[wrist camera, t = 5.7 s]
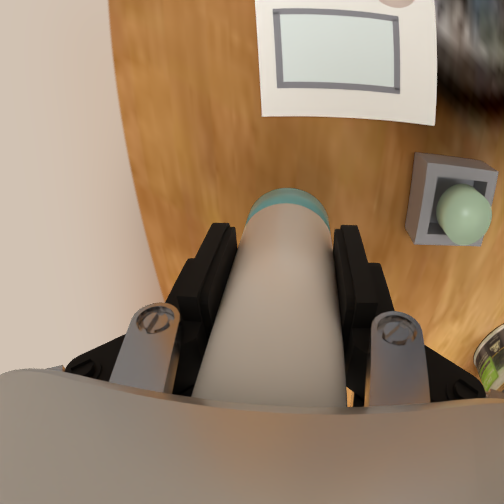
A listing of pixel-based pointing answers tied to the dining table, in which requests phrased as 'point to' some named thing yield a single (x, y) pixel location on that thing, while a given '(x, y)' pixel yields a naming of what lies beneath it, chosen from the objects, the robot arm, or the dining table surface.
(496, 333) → the coffee can
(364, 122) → the dining table surface
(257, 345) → the marker
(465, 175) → the button housing
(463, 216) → the button
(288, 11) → the sheet
